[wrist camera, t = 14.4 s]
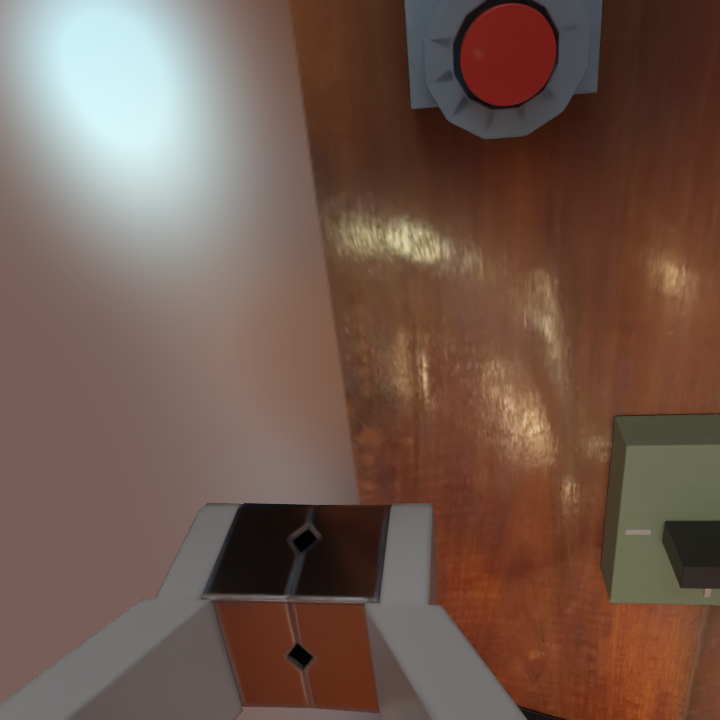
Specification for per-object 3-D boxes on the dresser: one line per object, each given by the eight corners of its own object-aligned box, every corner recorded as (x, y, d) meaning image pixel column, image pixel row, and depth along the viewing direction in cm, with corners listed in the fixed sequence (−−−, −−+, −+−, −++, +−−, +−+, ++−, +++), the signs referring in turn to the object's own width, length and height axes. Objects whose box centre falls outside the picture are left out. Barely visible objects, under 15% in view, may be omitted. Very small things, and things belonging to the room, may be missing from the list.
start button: (458, 8, 26) (458, 8, 25) (552, -2, 26) (558, -3, 24) (461, 104, 28) (461, 110, 26) (548, 96, 27) (554, 102, 26)
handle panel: (614, 415, 38) (627, 447, 35) (822, 411, 37) (852, 445, 34) (600, 567, 44) (610, 605, 41) (780, 569, 42) (803, 609, 39)
